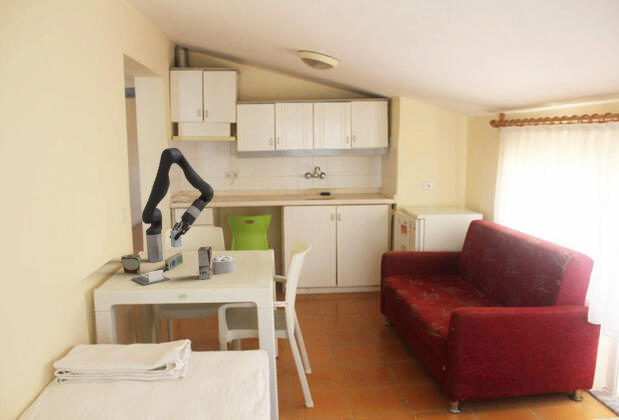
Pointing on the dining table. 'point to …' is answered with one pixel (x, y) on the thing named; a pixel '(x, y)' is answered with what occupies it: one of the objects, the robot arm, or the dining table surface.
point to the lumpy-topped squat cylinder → (223, 265)
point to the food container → (131, 264)
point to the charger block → (174, 242)
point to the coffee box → (205, 262)
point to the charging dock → (151, 278)
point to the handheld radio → (173, 261)
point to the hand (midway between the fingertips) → (172, 238)
